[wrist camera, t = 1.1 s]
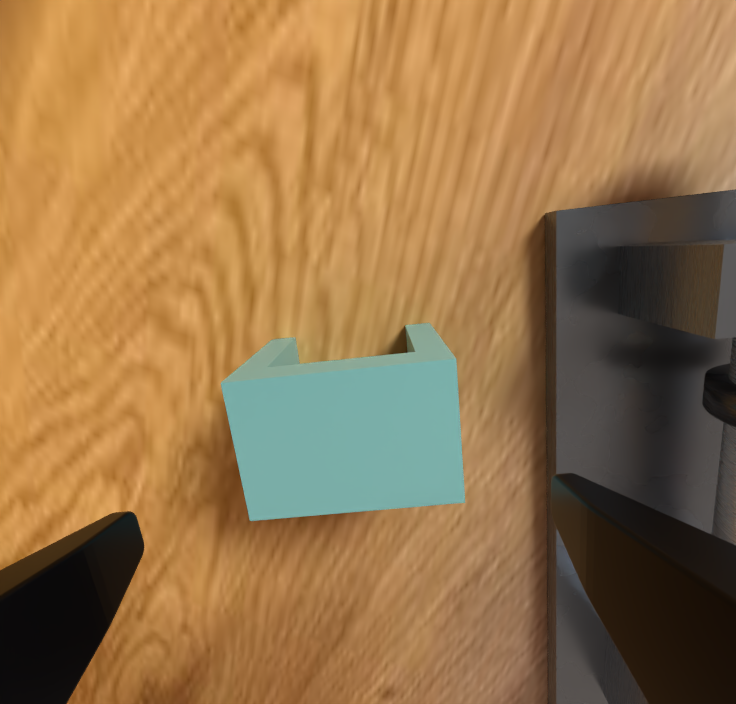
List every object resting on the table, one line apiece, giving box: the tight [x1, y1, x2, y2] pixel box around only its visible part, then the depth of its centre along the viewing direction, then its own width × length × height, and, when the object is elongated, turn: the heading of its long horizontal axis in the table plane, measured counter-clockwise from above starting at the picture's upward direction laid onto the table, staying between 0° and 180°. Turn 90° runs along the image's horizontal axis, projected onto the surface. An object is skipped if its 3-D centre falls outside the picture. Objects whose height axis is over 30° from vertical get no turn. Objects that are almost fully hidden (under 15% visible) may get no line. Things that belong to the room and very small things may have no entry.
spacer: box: [221, 323, 465, 521], centre depth 14 cm, size 4×7×6 cm
